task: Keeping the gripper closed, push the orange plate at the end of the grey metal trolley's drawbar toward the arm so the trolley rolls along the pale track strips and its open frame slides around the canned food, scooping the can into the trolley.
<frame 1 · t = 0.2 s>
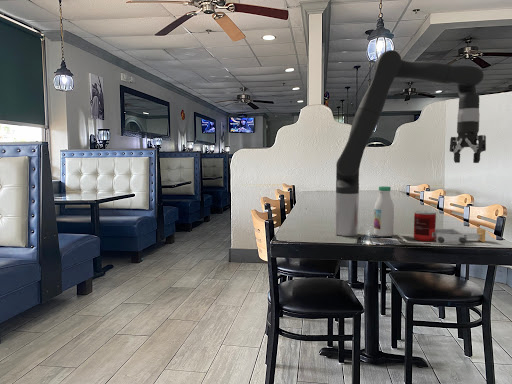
hand: (466, 162, 152), 30 cm above the table, fingers open, 8 cm apart
trolley: (456, 233, 149), point 3 cm above the table, slide at 0.0 cm
track: (440, 239, 150), on the table
canned food: (424, 240, 151), on the table
milk bottle: (383, 235, 161), on the table
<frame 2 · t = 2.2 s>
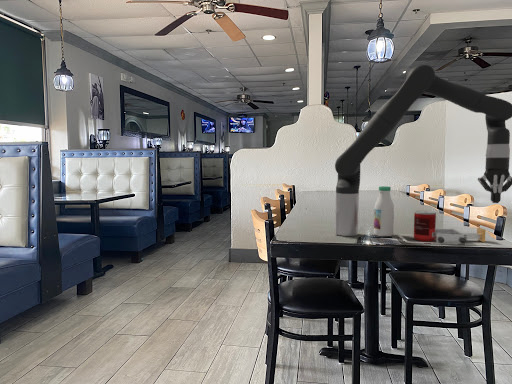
hand: (495, 202, 146), 15 cm above the table, fingers closed
nothing on the table moved.
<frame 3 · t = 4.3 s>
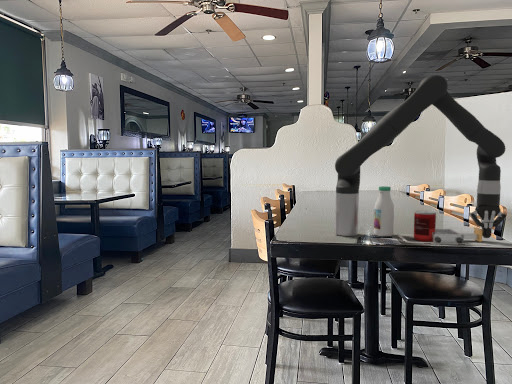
hand: (486, 237, 148), 1 cm above the table, fingers closed
trolley: (453, 233, 149), point 3 cm above the table, slide at 1.1 cm, touching gripper
everything else where it was.
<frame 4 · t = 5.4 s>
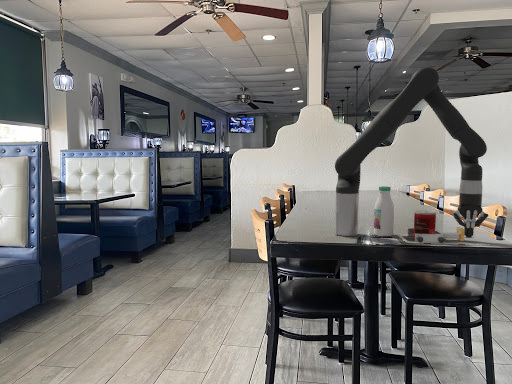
hand: (468, 237, 149), 1 cm above the table, fingers closed
trolley: (436, 233, 150), point 3 cm above the table, slide at 7.4 cm, touching gripper
everything else where it was.
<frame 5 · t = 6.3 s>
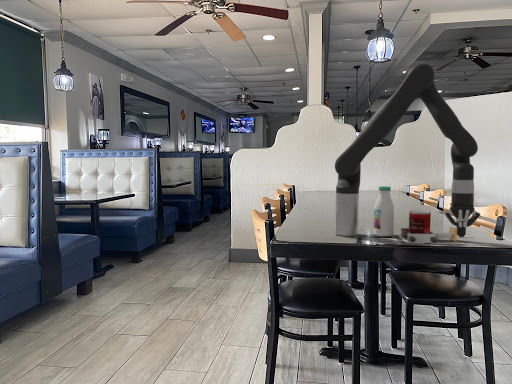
hand: (461, 236, 149), 2 cm above the table, fingers closed
trolley: (428, 233, 151), point 3 cm above the table, slide at 10.1 cm, touching canned food, gripper
canned food: (419, 239, 151), on the table, touching trolley
everything else where it was.
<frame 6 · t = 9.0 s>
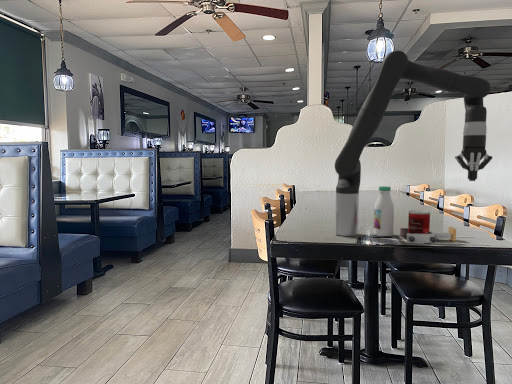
hand: (472, 180, 147), 23 cm above the table, fingers closed
trolley: (428, 233, 151), point 3 cm above the table, slide at 10.3 cm
canned food: (418, 239, 152), on the table
everything else where it was.
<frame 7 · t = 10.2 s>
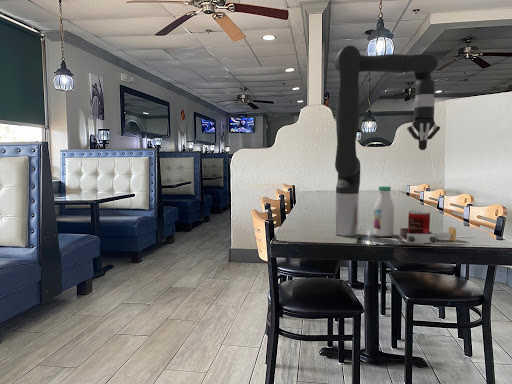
hand: (422, 149, 159), 35 cm above the table, fingers closed
nothing on the table moved.
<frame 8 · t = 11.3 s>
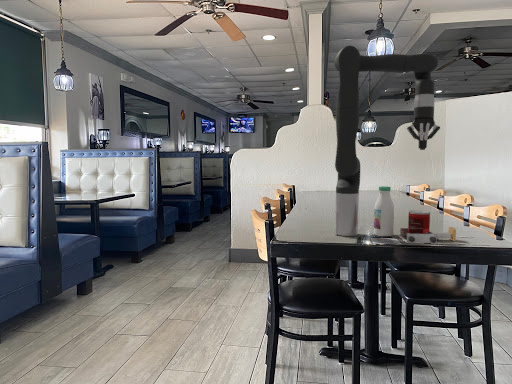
hand: (422, 149, 159), 35 cm above the table, fingers closed
nothing on the table moved.
at the end: trolley slide at 10.3 cm; canned food inside the target area (0.4 cm from its centre), on the table; canned food tilted 0° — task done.
